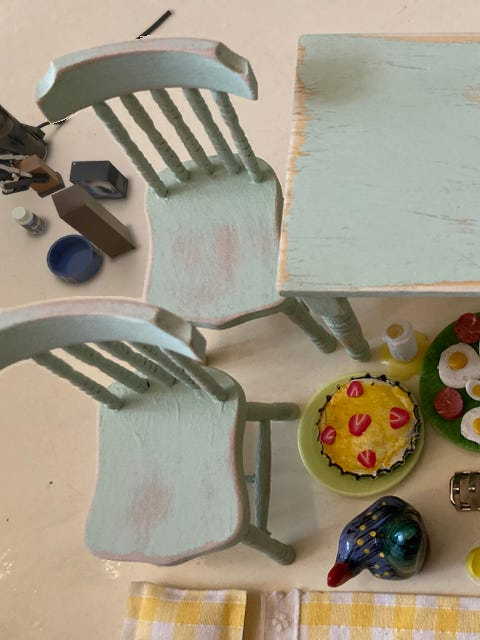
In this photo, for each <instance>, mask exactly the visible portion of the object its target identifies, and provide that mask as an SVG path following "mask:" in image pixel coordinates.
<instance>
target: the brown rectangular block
mask: <svg viewBox="0 0 480 640" xmlns="http://www.w3.org/2000/svg"><path fill="white" fill-rule="evenodd" d="M50 197H51V199H52V202H53V205H54V207H55V210H56V212H57V215H58V217H59V219H60V220H62V221H63V222H65V223H66V224H67V225H68V226H70V227H71V228H72V229H73V230H75V231H76V232H77V233H79V235H81V236H84V237H85V238H86V239H88V240H89V241H90V242H92V243H93V244H94V245H95V246H97V247H98V249H99V250H100V251H101V252H103V253H104V254H105V255H107V256H108V257H109V258H111V259H115V258H117V257H120V256H122V255H124V254H126V253H128V252H131V251H133V250H134V249H136V248H137V247H136V244H135V242H134V240H133V238H132V235H131V233H130V230H129V228H128V226H126V225H125V224H124V223H122V221H121V220H119V219H118V218H117V217H116V216H115V215H114V214H113V213H112V212H110V210H108V209H107V208H106V207H105V206H104V205H102V204H101V203H100V202H99V201H98V199H95V198H93V197H92V196H91V195H90V194H89V193H88V192H87V191H86V190H84V189H83V188H82V187H81V186H80V185H79V184H78V183H77V184H75V185H74V184H72V185H70V186H67V187H66V188H64V189H62V190H59V191H57V192H55V193H53V194H50Z"/></svg>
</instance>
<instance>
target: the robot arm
mask: <svg viewBox="0 0 480 640" xmlns="http://www.w3.org/2000/svg"><path fill="white" fill-rule="evenodd" d="M171 13H172V12H171V11H170V9H168V10H167V11H166V12H164V13H163V14H162V15H161V16H160V17H159V18H158V19H157V20H156V21H155V22H154V23H153V24H152V25H150V26H149V27H148V28H147V29H146V30H144V31H143V32H142V33H141V34H139V35H138V36H137V37H135V39H140V38H142V39H143V38H144V37H146V36H147V35H149V33H151V32H152V31H153V30H154V29H155V28H156V27H158V26H159V25H160V24H161V23H162V22H163V21H164V20H165V19H166V18H167V17H168V16H169V15H170V14H171ZM140 36H144V37H140ZM140 40H141V39H140ZM68 119H69V117H68V118H67V119H65V120H63V121H60V120H59V121H60V122H57V121H56V122H57V123H54V124H52V125H55V126H59V125H62V124H64V123H65V122H66V121H67V120H68ZM48 121H49V120H48ZM48 121H44V122H41V123H40V124H38V125H36V126H34V125H31V124H30V125H29V124H26V123H23V122H21V121H19V120H18V119H17V118H16V117H15V116H14V115H13V114H12V113H10V112H9V111H8V110H7V109H6V108H5V107H4V106H3V105H2V104H1V103H0V189H1V194H2V195H4V196H8V195H13V194H17V193H21V192H22V193H23V192H26V191H29V190H30V188H31V187H30V185H31V183H40V184H46V183H48V182H49V181H50V175H49V174H40V173H27V172H22V171H20V170H19V169H16V168H14V166H13V165H14V164H15V163H17V162H19V161H22V160H24V159H26V158H28V157H31V156H33V155H35V154H36V155H37V156H38V157H39V158H40V159H41V160H43V161H44V162H45V161H46V159H47V157H48V153H49V152H48V151H49V150H48V142H47V141H46V140H44V138H45V137H46V133H45V132H44V131H43V130H42V129H43V128H45V127H47V126H49V125H51V124H50V123H49V122H48ZM13 174H14V175H13ZM19 177H25V178H19Z"/></svg>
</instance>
